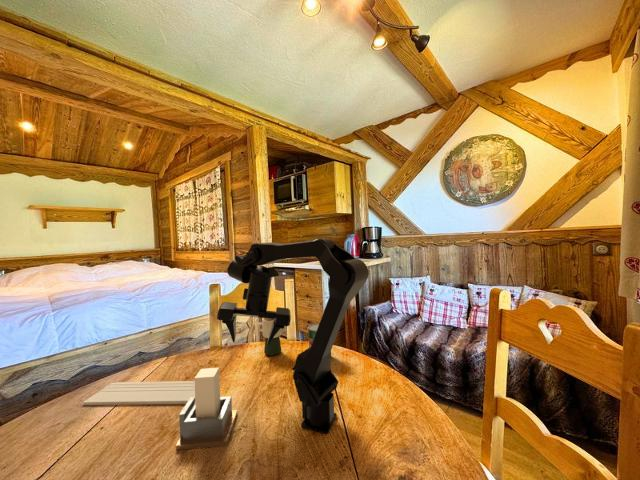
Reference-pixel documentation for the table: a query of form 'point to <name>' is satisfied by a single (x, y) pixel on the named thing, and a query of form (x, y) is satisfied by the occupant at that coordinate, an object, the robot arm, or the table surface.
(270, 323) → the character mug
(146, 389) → the baseboard molding
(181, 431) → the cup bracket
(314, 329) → the canned tomato
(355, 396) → the table surface
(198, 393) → the cream rectangular block
